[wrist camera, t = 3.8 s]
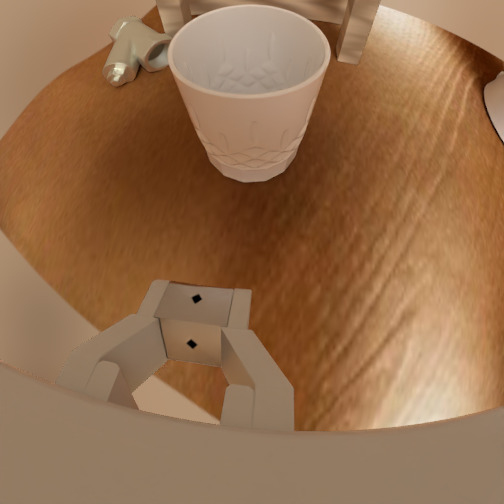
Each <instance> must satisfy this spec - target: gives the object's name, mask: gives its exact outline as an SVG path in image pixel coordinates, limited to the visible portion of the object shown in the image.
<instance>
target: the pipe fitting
mask: <svg viewBox="0 0 504 504" xmlns="http://www.w3.org/2000/svg"><path fill="white" fill-rule="evenodd" d="M109 36H110V37H111V39H112V41H113V42H114V46H113V48H112V50H111V52H110V54H109V57H108V59H107V61H106V63H105V66H104V68H103V71H102V73H103V76H104V78H105V79H106V80H108V81H109V82H110V84H111V85H112V86H114V87H118V86H119V85H122V84H124V83H127V82H132V81H133V80H134V79H135V76H136V73H137V71H138V68H139V65H140V64H141V65H142V67H143V68H144V69H146V70H147V71H148V72H154V71H159V70H163V69H164V68H166V67H167V66H169V64H168V59H167V53H168V48H169V45H170V43H171V41H172V39H173V38H172V37H170V36H169V35H167V34H165V33H164V34H160V33H158V32H156V31H155V30H153V29H151V28H150V27H148V26H146V25H144V24H143V22H142V20H141V19H140V18H138V17H136V16H130V17H124V18H121V19H118V20H117V22H116V23H115V24H114V26H113V28H112V29H111V31H110V33H109Z"/></svg>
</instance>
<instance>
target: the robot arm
mask: <svg viewBox="0 0 504 504" xmlns="http://www.w3.org/2000/svg"><path fill="white" fill-rule="evenodd" d="M484 99H485V104H486V107H487V110H488V113H489V115H490V118H491V120H492V122H493V124H494V126H495V128H496V130H497V132H498V134H499V135H500V137H501V139H502V140H503V142H504V72H503V71H501V72H500V73H499V74H498V75H497V77H496V79H495V80H493V81H491V82H490V83H488V84H487V85H486V86H485V89H484ZM251 295H252V291H251V290H249V289H237V288H235V289H233V288H223V287H213V286H204V285H197V284H190V283H183V282H176V281H167V280H160V279H155V280H154V281H153V282H152V284H151V286H150V287H149V289H148V291H147V293H146V295H145V297H144V299H143V301H142V303H141V305H140V307H139V309H138V311H137V314H130V315H129V316H127V317H125V318H124V319H122V320H121V321H119V322H117V323H116V324H114V325H112V326H111V327H109V328H108V329H106V330H104V331H103V332H101V333H99V334H98V335H96V336H95V337H93V338H91V339H90V340H88V341H86V342H85V343H83V344H82V345H80V346H78V347H77V348H75V349H74V350H72V352H71V353H70V355H69V357H68V359H67V361H66V363H65V365H64V366H63V368H62V370H61V372H60V374H59V376H58V378H57V380H56V382H55V384H54V383H52V382H49V381H46V380H44V379H41V378H39V377H37V376H34V375H32V374H30V373H28V372H25V371H23V370H21V369H19V368H16V367H14V366H12V365H10V364H8V363H6V362H4V361H2V360H0V504H504V405H503V406H500V407H496V408H492V409H489V410H485V411H481V412H477V413H473V414H469V415H465V416H460V417H455V418H450V419H445V420H440V421H434V422H428V423H422V424H415V425H408V426H400V427H391V428H381V429H369V430H352V431H294V388H293V387H292V385H291V384H290V382H289V381H288V380H287V378H286V377H285V376H284V374H283V373H282V371H281V370H280V369H279V367H278V366H277V364H276V363H275V362H274V360H273V359H272V357H271V356H270V355H269V353H268V352H267V350H266V349H265V347H264V346H263V345H262V343H261V342H260V340H259V339H258V338H257V336H256V335H255V333H254V332H253V330H248V328H249V317H250V306H251ZM167 359H171V360H178V361H185V362H193V363H199V364H205V365H211V366H217V367H222V370H223V373H224V375H225V377H226V379H227V381H228V383H229V385H230V386H228V387H227V388H226V392H225V398H224V404H223V410H222V415H221V421H220V425H216V424H209V423H202V422H196V421H189V420H184V419H179V418H174V417H169V416H164V415H159V414H154V413H150V412H146V411H141V410H139V409H138V406H137V404H136V402H135V400H134V398H133V396H132V394H131V393H132V392H133V391H134V390H136V389H137V388H138V387H139V386H140V385H141V384H142V383H143V382H144V381H146V380H147V379H148V378H149V377H150V376H151V375H152V374H153V373H154V372H155V371H156V370H158V369H159V368H160V367H161V366H162V365H163V364H164V363H165V362H166V361H167Z"/></svg>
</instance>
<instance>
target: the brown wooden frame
mask: <svg viewBox="0 0 504 504" xmlns="http://www.w3.org/2000/svg"><path fill="white" fill-rule="evenodd" d="M380 1H381V0H156V4H157V7H158V10H159V14H160V17H161V21H162V24H163V27H164V31H165V34H167V35H169V36H170V37H172V38H173V37H174V36H175V35H176V33H177V32H178V31H179V30H180V29H181V28H182V27H183V26H184V25H186V24H187V23H188V22H190V21H191V20H192V16H191V15H202V14H205V13H207V12H210V11H212V10H216V9H219V8H223V7H228V6H234V5H245V4H257V5H268V6H274V7H279V8H282V9H286V10H289V11H292V12H294V13H297V14H299V15H301V16H303V17H305V18H306V19H311V20H318V21H324V22H330V23H335V24H341V29H340V33H339V37H338V41H337V44H336V52H337V60H338V61H340V62H345V63H350V64H355V65H358V63H359V60H360V57H361V55H362V52H363V49H364V46H365V44H366V41H367V38H368V35H369V33H370V30H371V27H372V24H373V21H374V18H375V16H376V13H377V10H378V7H379V4H380Z"/></svg>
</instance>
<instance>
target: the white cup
mask: <svg viewBox="0 0 504 504" xmlns="http://www.w3.org/2000/svg"><path fill="white" fill-rule="evenodd" d="M330 55H331V52H330V46H329V43H328V40H327V38H326V37H325V35H324V34H323V32H322V31H321V30H320V29H319V28H318V27H317V26H316V25H315V24H314V23H312V22H311V21H309V20H308V19H306V18H305V17H303V16H301V15H299V14H297V13H294V12H292V11H289V10H286V9H282V8H279V7H274V6H268V5H257V4H245V5H234V6H228V7H223V8H219V9H216V10H212V11H210V12H207V13H205V14H202V15H200V16H198V17H196V18H195V19H193V20H191V21H190V22H188V23H187V24H186V25H184V26H183V27H182V28H181V29H180V30H179V31H178V32H177V33H176V35H175V36H174V37H173V39H172V41H171V43H170V45H169V48H168V53H167V59H168V64H169V67H170V69H171V72H172V74H173V77H174V79H175V81H176V84H177V86H178V89H179V91H180V94H181V96H182V99H183V101H184V104H185V106H186V109H187V111H188V114H189V116H190V119H191V121H192V124H193V126H194V128H195V130H196V132H197V134H198V137H199V139H200V140H201V142H202V144H203V145H204V147H205V149H206V152H207V155H208V157H209V160H210V162H211V163H212V164H213V165H214V166H215V167H216V168H217V169H218V170H219V171H220V172H221V173H222V174H223V175H224V176H226V177H229V178H232V179H235V180H238V181H241V182H244V183H245V182H259V181H267V180H269V179H271V178H273V177H275V176H277V175H279V174H281V173H283V172H284V171H285V170H286V168H287V167H288V166H289V164H290V163H291V162H292V160H293V159H294V158H295V156H296V153H297V150H298V146H299V144H300V142H301V140H302V138H303V136H304V133H305V131H306V127H307V125H308V122H309V120H310V118H311V115H312V112H313V109H314V106H315V103H316V100H317V97H318V94H319V91H320V88H321V85H322V82H323V79H324V76H325V73H326V70H327V67H328V64H329V61H330Z"/></svg>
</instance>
